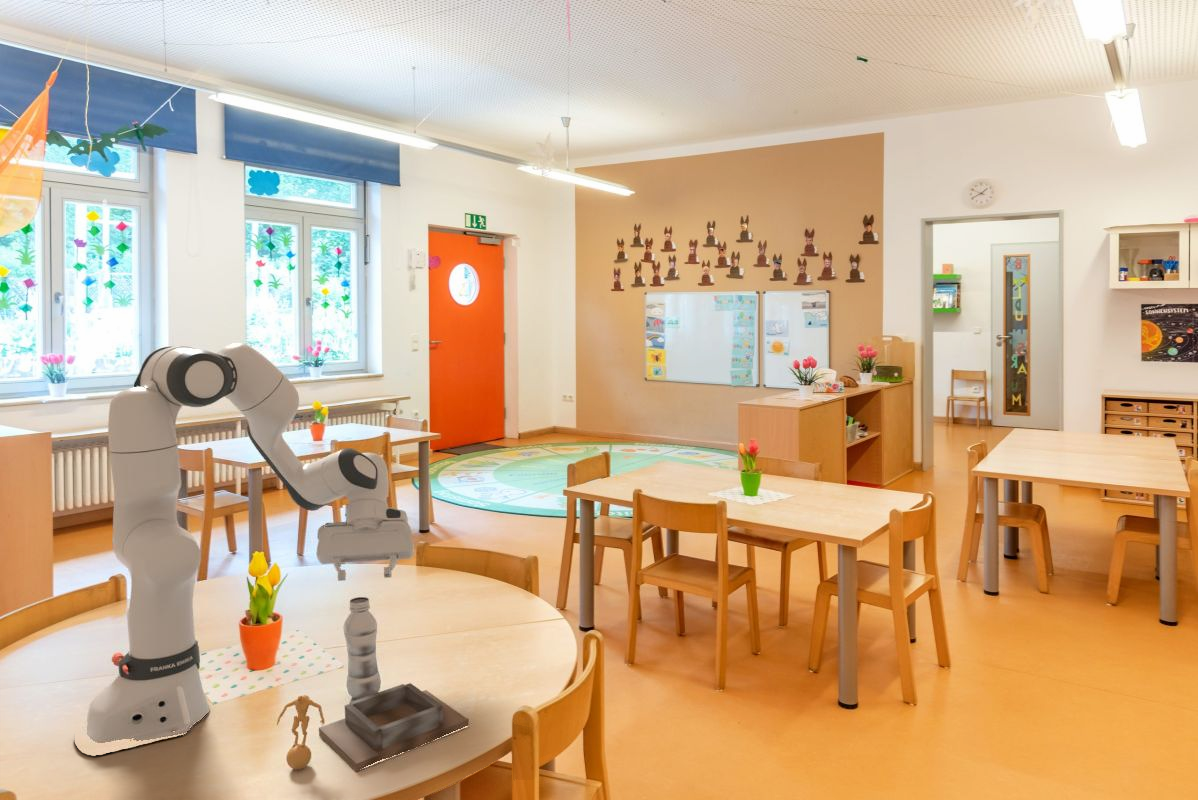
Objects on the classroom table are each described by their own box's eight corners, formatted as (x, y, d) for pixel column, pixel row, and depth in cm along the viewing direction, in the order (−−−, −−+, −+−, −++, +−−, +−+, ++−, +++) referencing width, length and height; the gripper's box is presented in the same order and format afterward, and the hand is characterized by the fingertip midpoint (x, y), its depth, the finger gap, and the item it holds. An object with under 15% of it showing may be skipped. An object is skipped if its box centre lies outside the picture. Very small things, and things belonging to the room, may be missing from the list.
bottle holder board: (356, 771, 140) (355, 744, 139) (319, 735, 152) (317, 709, 151) (468, 727, 154) (467, 701, 154) (426, 696, 166) (425, 673, 166)
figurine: (270, 773, 140) (266, 706, 138) (286, 754, 146) (282, 689, 144) (318, 774, 139) (314, 707, 138) (332, 755, 145) (328, 690, 144)
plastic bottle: (372, 704, 163) (367, 607, 161) (340, 701, 165) (335, 604, 162) (387, 689, 170) (382, 595, 167) (356, 687, 171) (351, 593, 169)
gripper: (316, 516, 179) (311, 574, 171) (412, 511, 183) (412, 567, 174) (320, 530, 184) (315, 588, 176) (414, 525, 188) (414, 581, 179)
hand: (364, 577), depth 175 cm, fingers open, 8 cm apart
